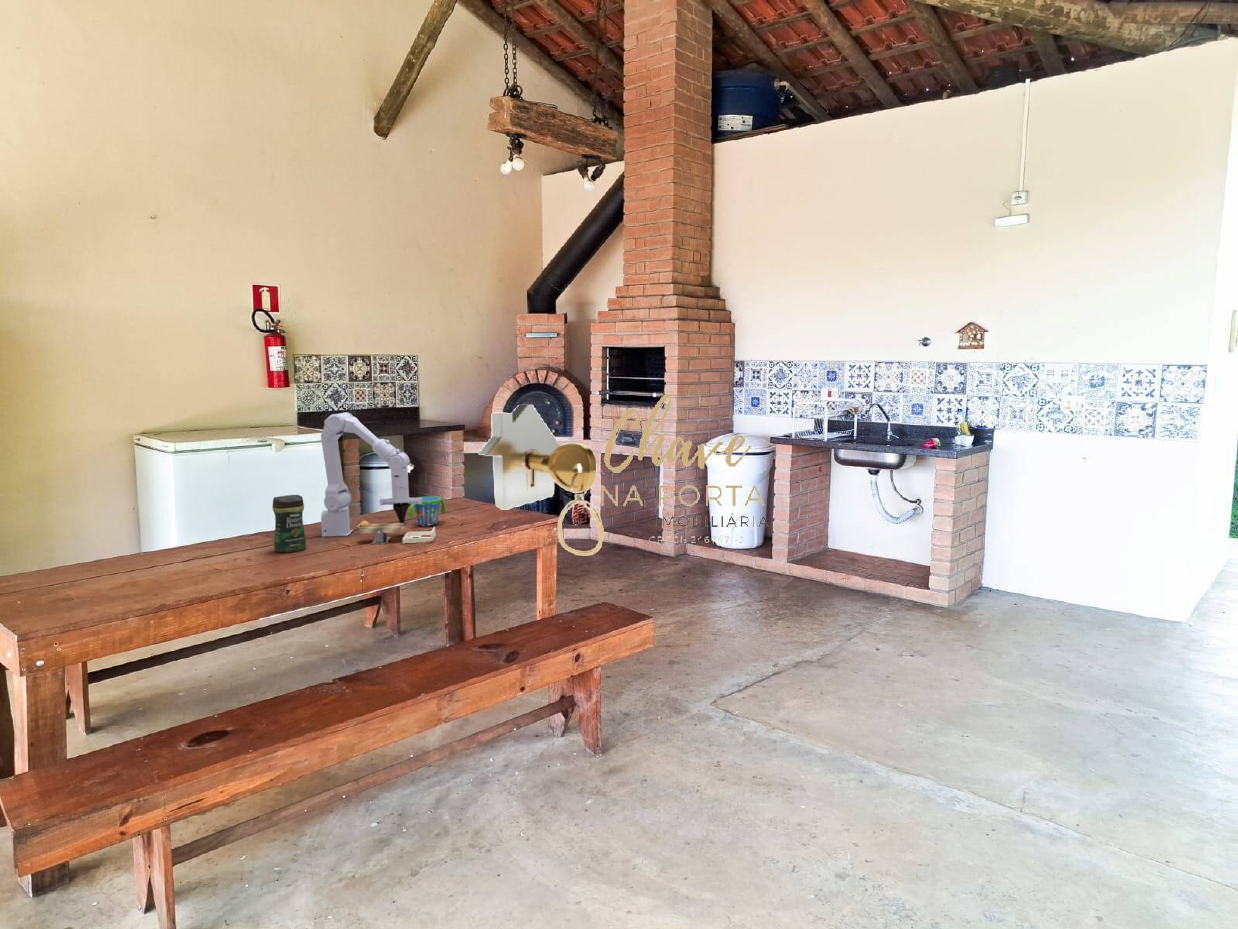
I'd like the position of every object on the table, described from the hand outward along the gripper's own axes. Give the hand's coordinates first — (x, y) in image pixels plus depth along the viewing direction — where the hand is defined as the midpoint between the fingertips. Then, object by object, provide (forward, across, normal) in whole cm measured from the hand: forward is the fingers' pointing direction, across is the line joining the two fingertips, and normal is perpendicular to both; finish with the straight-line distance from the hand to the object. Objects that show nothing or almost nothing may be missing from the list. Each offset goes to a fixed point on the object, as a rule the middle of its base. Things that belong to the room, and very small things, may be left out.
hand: (402, 524), depth 288 cm
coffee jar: (+4, -34, -16) cm, 38 cm away
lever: (+1, -6, -4) cm, 7 cm away
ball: (-2, -12, -8) cm, 14 cm away
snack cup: (+5, +7, +18) cm, 19 cm away
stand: (+4, -6, -8) cm, 11 cm away
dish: (+4, +7, -8) cm, 11 cm away
